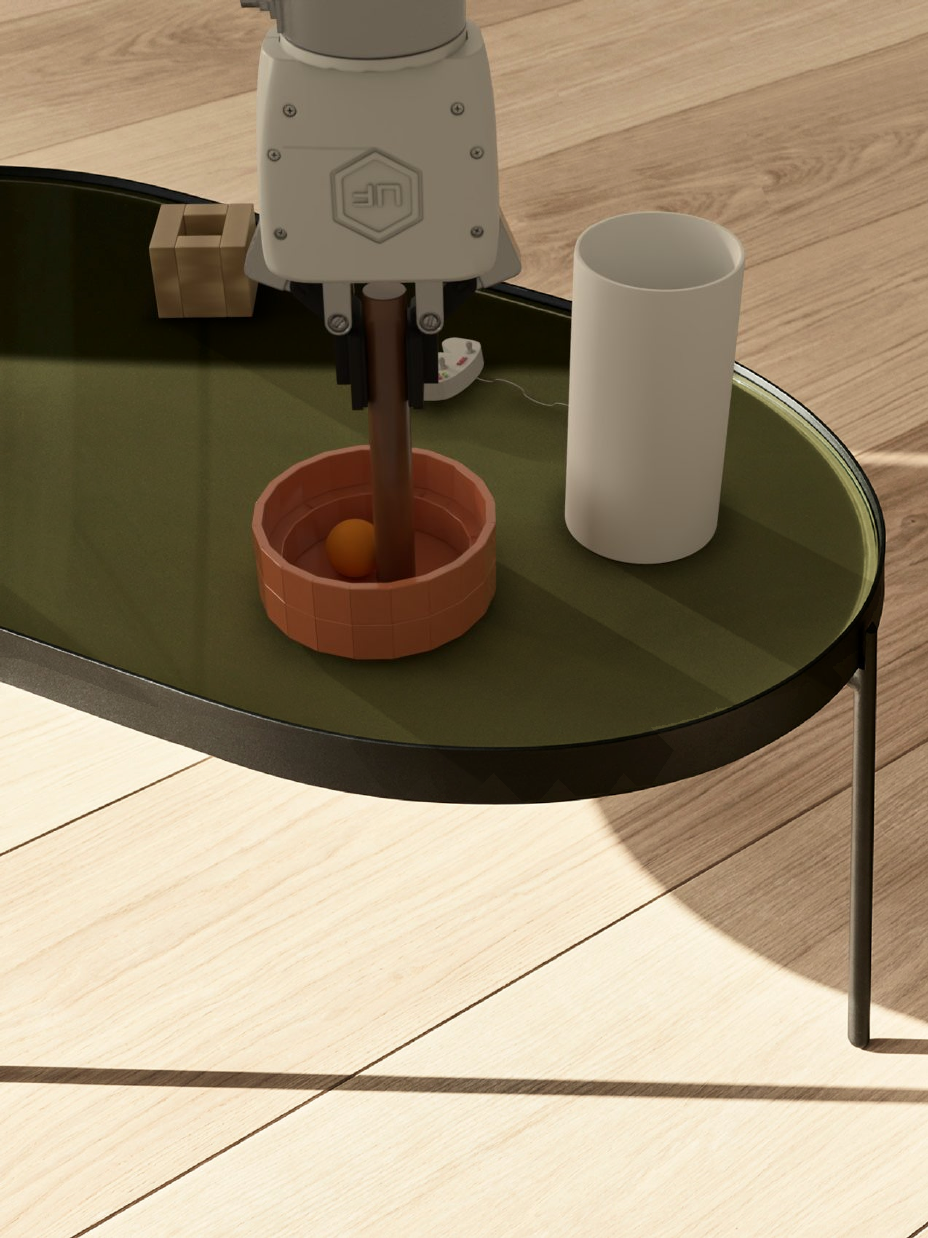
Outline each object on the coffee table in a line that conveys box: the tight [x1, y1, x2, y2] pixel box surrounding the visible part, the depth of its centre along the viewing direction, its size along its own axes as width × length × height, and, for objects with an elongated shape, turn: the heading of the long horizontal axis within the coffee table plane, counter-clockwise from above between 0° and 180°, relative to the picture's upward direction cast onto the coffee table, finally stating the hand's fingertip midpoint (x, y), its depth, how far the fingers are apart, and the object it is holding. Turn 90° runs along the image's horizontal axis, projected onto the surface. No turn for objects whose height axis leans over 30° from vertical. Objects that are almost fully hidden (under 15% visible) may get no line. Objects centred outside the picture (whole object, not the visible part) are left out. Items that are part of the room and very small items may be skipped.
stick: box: [361, 283, 416, 583], centre depth 80 cm, size 2×2×16 cm
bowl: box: [251, 444, 497, 660], centre depth 85 cm, size 12×12×5 cm
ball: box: [326, 519, 376, 578], centre depth 86 cm, size 3×3×3 cm
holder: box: [148, 202, 259, 319], centre depth 108 cm, size 6×6×5 cm
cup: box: [564, 210, 746, 565], centre depth 86 cm, size 8×8×16 cm
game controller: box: [424, 337, 569, 407], centre depth 100 cm, size 6×12×3 cm, turn 81°
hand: (388, 391), depth 79 cm, fingers closed on stick, 2 cm apart
